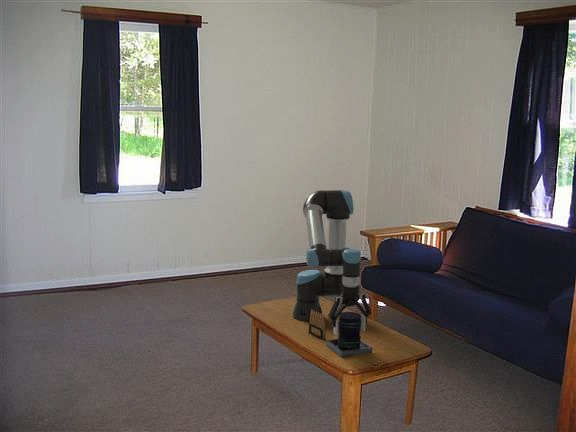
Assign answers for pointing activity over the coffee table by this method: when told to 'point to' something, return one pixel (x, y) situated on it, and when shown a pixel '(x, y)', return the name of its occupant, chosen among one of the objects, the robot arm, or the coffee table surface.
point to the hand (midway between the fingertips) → (349, 331)
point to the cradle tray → (362, 350)
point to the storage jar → (349, 331)
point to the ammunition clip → (317, 325)
